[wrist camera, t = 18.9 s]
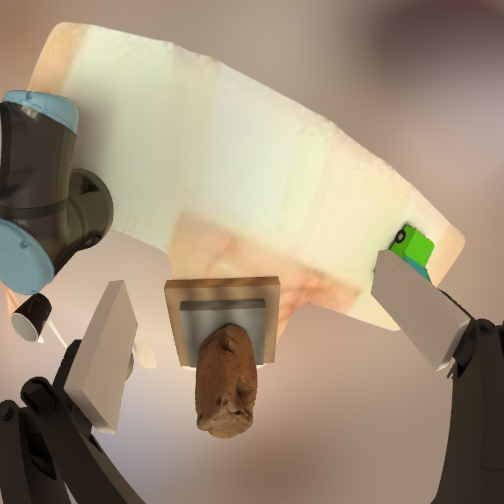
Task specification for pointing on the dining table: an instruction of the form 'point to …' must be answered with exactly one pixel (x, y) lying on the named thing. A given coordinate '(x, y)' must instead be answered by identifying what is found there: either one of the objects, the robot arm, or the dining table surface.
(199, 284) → the tower base
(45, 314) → the coffee mug
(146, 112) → the dining table surface
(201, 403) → the block
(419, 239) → the toy car
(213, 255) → the dining table surface
